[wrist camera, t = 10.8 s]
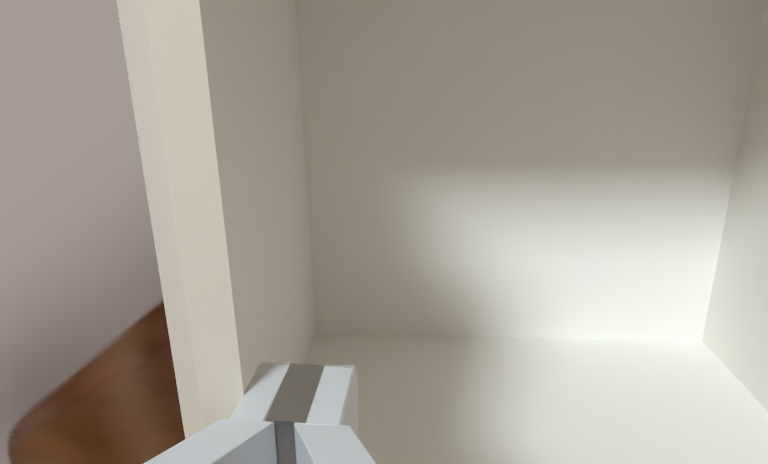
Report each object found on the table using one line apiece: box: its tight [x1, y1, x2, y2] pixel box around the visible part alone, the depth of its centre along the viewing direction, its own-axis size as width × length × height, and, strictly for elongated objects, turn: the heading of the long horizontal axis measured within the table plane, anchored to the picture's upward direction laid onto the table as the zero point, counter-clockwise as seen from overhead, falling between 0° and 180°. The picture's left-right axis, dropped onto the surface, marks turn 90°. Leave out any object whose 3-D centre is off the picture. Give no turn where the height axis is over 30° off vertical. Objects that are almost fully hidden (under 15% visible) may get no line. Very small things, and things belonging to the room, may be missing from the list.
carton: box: [199, 0, 768, 464], centre depth 21 cm, size 20×22×14 cm
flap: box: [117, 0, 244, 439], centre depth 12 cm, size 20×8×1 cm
